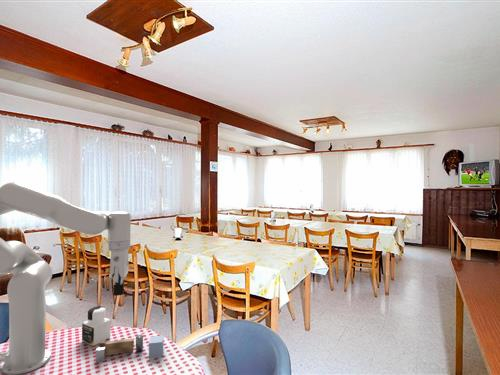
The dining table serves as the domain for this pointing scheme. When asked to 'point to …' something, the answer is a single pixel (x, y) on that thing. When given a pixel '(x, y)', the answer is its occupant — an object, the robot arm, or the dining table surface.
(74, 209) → the robot arm
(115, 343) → the tan wooden plank
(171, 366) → the dining table surface
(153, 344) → the block
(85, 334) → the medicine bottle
